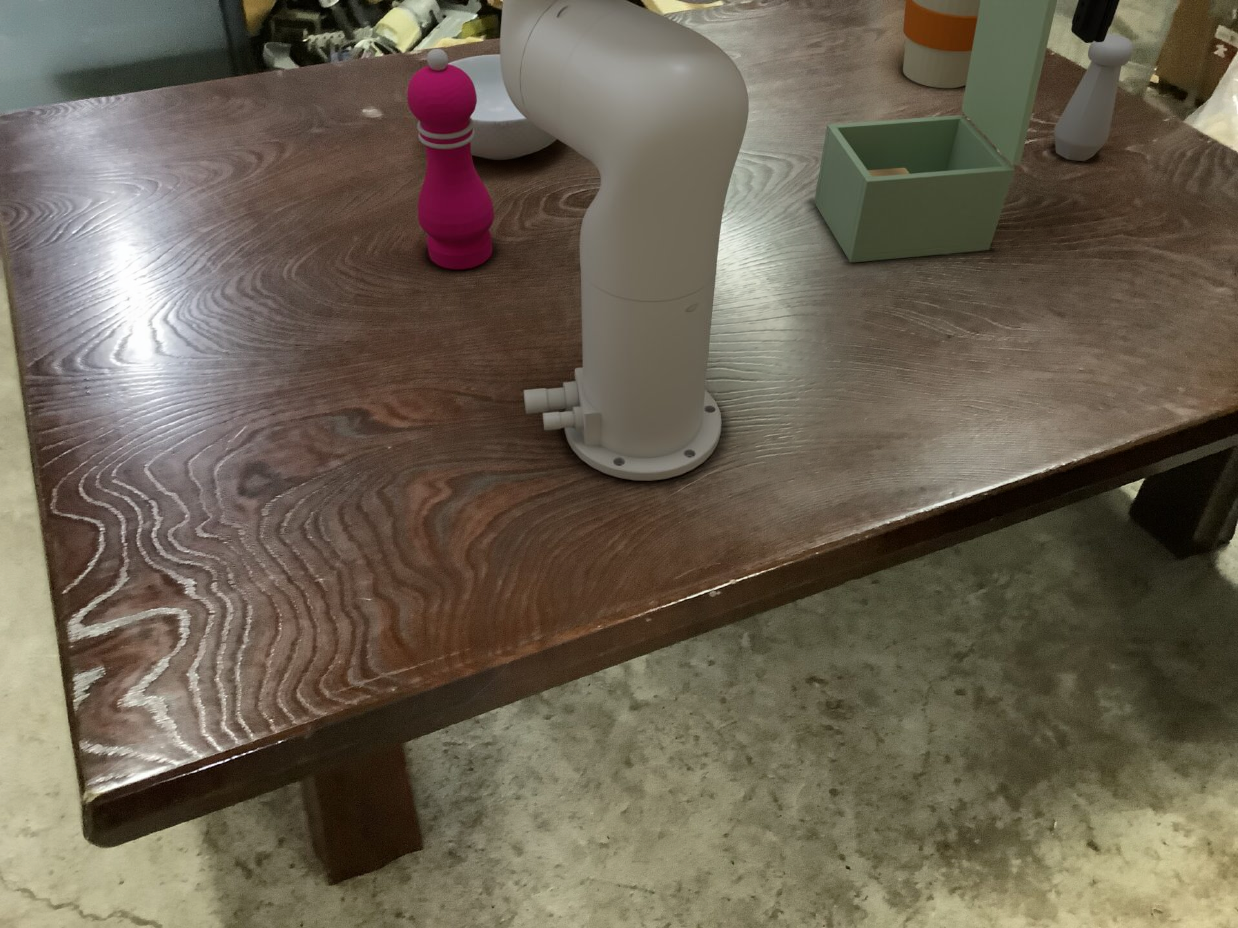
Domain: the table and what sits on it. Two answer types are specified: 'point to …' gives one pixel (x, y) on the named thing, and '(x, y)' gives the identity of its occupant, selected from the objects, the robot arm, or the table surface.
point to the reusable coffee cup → (939, 41)
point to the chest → (911, 187)
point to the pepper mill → (450, 166)
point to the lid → (1007, 70)
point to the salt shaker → (1093, 101)
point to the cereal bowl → (498, 114)
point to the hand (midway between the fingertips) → (1086, 36)
